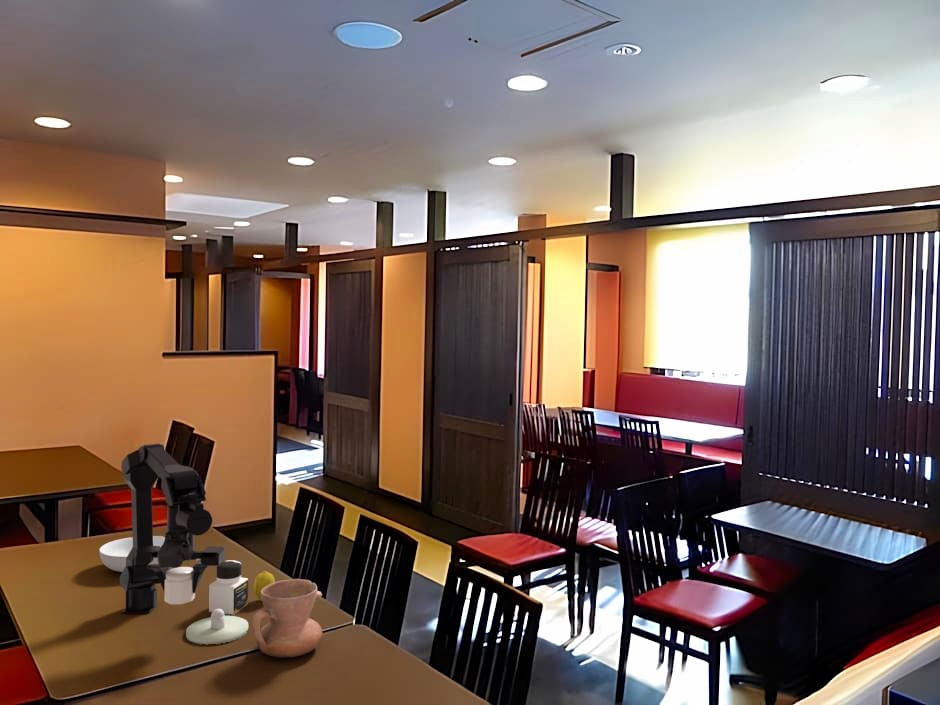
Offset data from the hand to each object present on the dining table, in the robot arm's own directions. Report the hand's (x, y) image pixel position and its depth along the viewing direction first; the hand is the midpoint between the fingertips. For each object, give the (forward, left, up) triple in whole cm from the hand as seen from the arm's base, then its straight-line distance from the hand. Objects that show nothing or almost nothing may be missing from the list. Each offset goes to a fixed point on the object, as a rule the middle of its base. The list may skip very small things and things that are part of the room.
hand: (180, 592), depth 165 cm
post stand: (+7, +5, -12) cm, 15 cm away
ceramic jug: (+25, -5, -12) cm, 28 cm away
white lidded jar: (0, 0, -2) cm, 2 cm away
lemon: (+14, +24, -12) cm, 30 cm away
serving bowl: (-28, +50, -12) cm, 59 cm away
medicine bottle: (+6, +19, -12) cm, 23 cm away
